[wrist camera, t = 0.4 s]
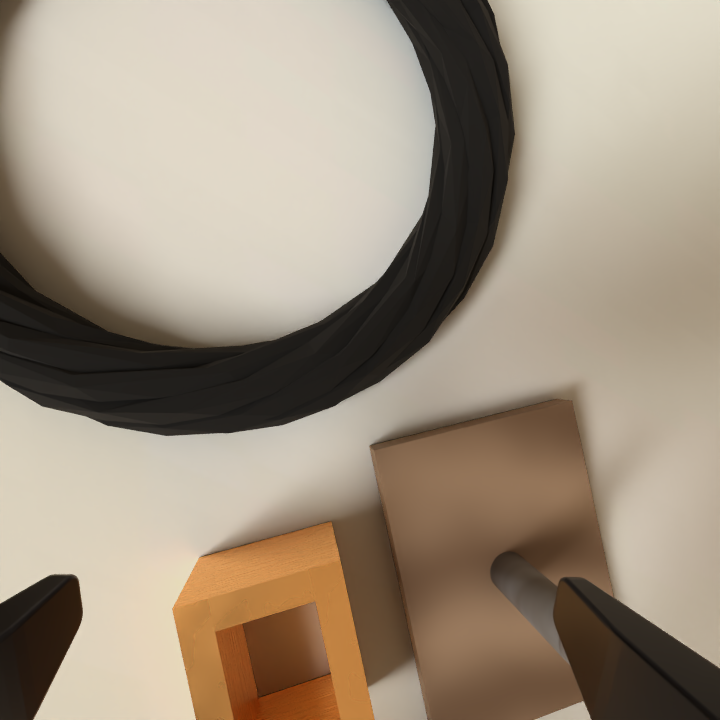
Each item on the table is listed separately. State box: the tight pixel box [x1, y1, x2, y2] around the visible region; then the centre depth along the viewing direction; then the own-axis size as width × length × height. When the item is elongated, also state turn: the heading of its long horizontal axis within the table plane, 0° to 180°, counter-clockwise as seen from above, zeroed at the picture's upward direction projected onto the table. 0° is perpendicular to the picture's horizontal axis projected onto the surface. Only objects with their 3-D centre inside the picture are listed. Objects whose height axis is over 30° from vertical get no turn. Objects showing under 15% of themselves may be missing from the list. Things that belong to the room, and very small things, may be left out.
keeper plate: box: [370, 399, 614, 720], centre depth 17 cm, size 14×10×7 cm
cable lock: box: [0, 0, 515, 436], centre depth 17 cm, size 28×4×30 cm
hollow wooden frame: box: [172, 522, 375, 720], centre depth 17 cm, size 8×6×4 cm
